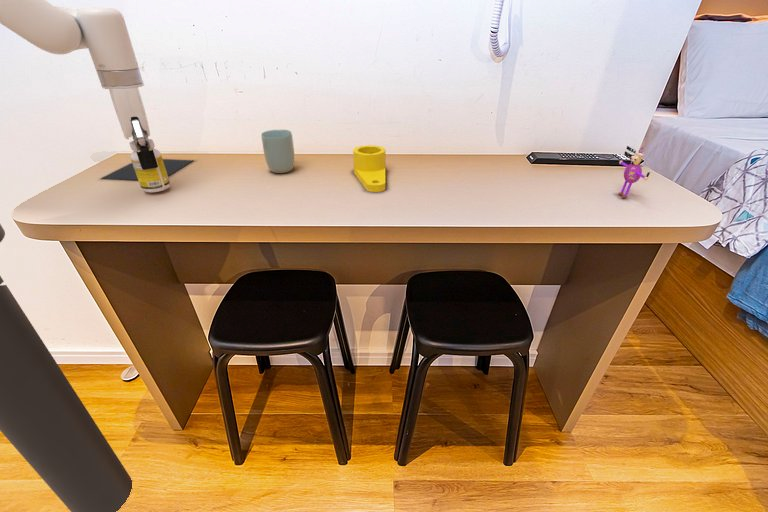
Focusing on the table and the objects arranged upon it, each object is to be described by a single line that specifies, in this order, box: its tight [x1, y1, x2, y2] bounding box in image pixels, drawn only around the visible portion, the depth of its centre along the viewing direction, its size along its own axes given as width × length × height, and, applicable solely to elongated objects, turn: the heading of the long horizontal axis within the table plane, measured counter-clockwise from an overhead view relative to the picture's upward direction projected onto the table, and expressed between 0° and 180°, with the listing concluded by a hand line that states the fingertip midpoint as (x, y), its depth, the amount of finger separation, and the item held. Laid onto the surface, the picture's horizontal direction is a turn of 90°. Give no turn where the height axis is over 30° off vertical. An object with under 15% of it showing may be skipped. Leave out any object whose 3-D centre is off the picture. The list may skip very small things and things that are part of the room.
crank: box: [352, 144, 386, 193], centre depth 98 cm, size 18×8×6 cm, turn 9°
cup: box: [260, 129, 296, 174], centre depth 101 cm, size 8×8×10 cm
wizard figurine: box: [617, 145, 651, 199], centre depth 87 cm, size 11×3×12 cm, turn 0°
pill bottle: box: [128, 138, 171, 193], centre depth 89 cm, size 6×6×11 cm
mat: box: [100, 158, 194, 181], centre depth 105 cm, size 16×16×1 cm
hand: (148, 163), depth 89 cm, fingers closed on pill bottle, 6 cm apart
